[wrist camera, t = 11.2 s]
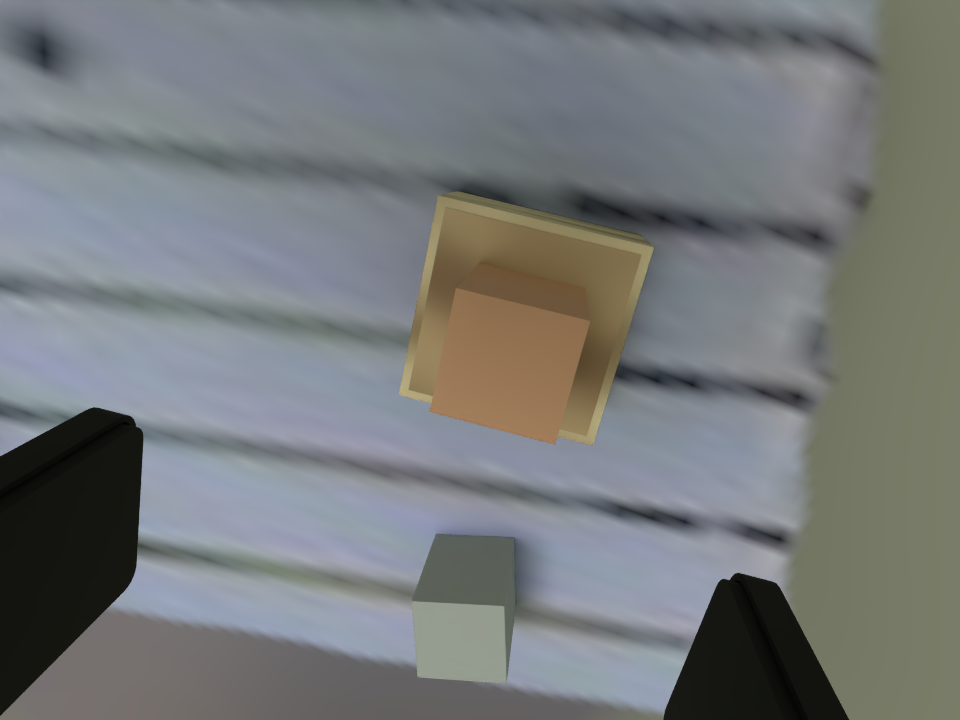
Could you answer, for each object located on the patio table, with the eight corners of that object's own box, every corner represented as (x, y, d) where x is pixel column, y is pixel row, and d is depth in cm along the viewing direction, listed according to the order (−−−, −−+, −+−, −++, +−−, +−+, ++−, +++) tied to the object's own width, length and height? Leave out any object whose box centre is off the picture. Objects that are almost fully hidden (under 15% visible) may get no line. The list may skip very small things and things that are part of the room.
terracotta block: (479, 262, 26) (455, 287, 21) (585, 288, 26) (590, 321, 21) (457, 362, 28) (429, 411, 22) (557, 387, 28) (555, 444, 22)
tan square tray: (457, 191, 31) (437, 195, 26) (640, 235, 30) (654, 247, 25) (422, 363, 34) (398, 395, 29) (589, 405, 33) (592, 446, 28)
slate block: (435, 533, 37) (411, 601, 31) (513, 536, 36) (504, 606, 30) (440, 600, 38) (417, 677, 32) (515, 604, 37) (506, 683, 31)
